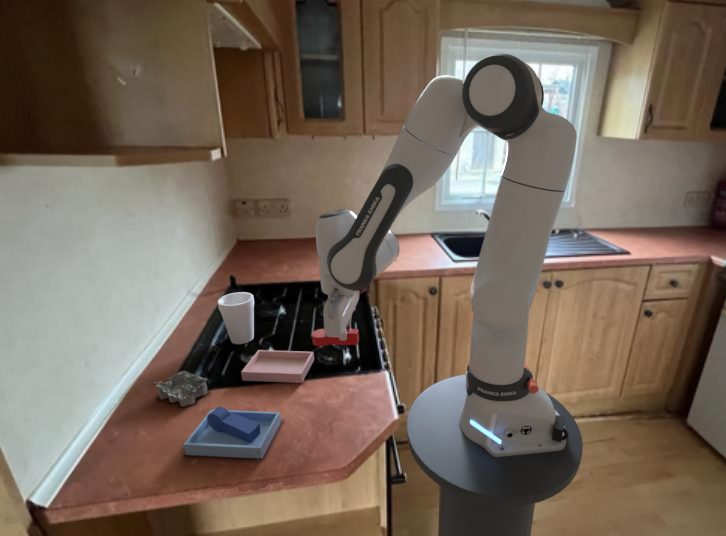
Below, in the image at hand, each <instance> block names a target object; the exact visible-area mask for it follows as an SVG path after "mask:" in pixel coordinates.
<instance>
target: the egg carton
mask: <svg viewBox="0 0 726 536" xmlns="http://www.w3.org/2000/svg"><path fill="white" fill-rule="evenodd" d="M208 380H209V378H207V377H206V378H205V377H203V376H199V374H198V375H197V374H194V373H190V372H189V371H187V370H182V371H179V372H177V373H175V374H173V376H171V377H167V380H166V381H165V382H164V383H163V382H162V380H161V381H158V382H153V383H152V385H155V386H156V387H158V390H157V395H158V398H159V399H160V400H164V399H165V400H166V399H168V400H169V402H170V403H172V404H175V403H177V402H179V405H180V407H183V408H184V407H187V406H190V405H193V404H194V403H196V399H197V398H198V397H201V396H205V395H207V394H208V385H207V381H208Z"/></svg>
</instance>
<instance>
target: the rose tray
mask: <svg viewBox="0 0 726 536" xmlns="http://www.w3.org/2000/svg"><path fill="white" fill-rule="evenodd" d="M314 362H315V353H314V351H301V350H300V351H298V350H297V351H296V350H295V351H294V350H272V349H271V350H269V349H268V350H267V349H257V351H256V352H255V354H254V355H253V356H252V357H251V359H249V361H248V362H247V363H246V365H245V366H244V367H243V368H242V370H241V371H240V374H241V380H242V381H243V382H269V383H272V382H273V383H293V384H294V383H295V384H302V383H303V382H304V380H305V379H306V376H307V375H308V373H309V371H310V369H311V367H312V366H313V363H314Z"/></svg>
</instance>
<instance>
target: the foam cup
mask: <svg viewBox="0 0 726 536" xmlns="http://www.w3.org/2000/svg"><path fill="white" fill-rule="evenodd" d="M217 307H218V310H219V312H220V314H221V317H222V320H223V323H224V326H225V328H226V331H227V334H228V337H229V340H230V343H232V344H234V345H244V344H247V343H249V342H251V341H253V340H254V338H255V297H254V294H253V293H251V292H246V291H238V292H231V293H228V294H225V295H223V296H221V297H220V298H218V300H217Z"/></svg>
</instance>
